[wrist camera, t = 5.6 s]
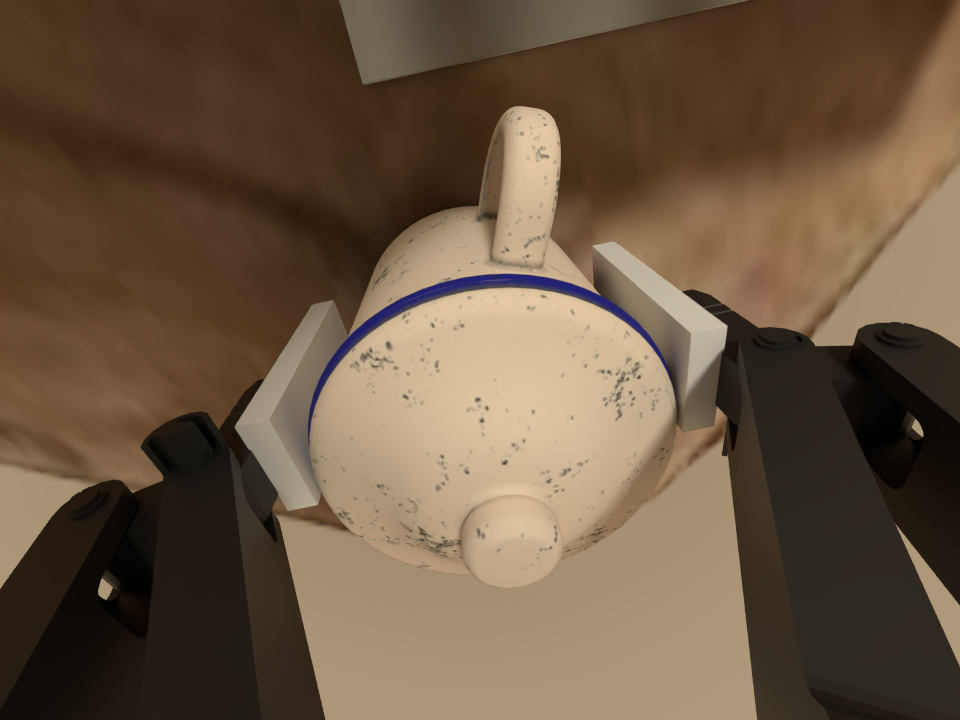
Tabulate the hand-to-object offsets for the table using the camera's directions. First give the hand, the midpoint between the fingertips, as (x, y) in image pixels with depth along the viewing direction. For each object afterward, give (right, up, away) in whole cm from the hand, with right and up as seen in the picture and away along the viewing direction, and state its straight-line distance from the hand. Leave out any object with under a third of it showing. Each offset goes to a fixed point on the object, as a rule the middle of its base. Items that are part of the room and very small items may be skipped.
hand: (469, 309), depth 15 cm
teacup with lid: (0, +2, +2) cm, 3 cm away
